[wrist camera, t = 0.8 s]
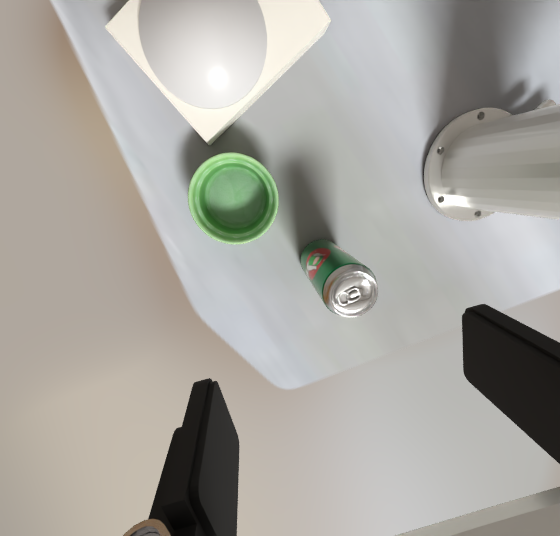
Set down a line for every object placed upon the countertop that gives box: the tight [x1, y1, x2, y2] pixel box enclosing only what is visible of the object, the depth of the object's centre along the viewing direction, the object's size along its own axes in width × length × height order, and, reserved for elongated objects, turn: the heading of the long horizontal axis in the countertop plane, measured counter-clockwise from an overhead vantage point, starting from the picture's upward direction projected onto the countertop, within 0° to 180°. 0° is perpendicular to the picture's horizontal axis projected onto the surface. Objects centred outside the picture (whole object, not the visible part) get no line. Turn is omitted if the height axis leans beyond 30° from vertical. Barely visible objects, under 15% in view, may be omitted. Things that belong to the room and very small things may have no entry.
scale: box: [105, 0, 331, 145], centre depth 25 cm, size 16×13×4 cm
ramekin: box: [188, 152, 279, 244], centre depth 30 cm, size 9×9×4 cm
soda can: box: [301, 239, 378, 317], centre depth 29 cm, size 5×5×12 cm
